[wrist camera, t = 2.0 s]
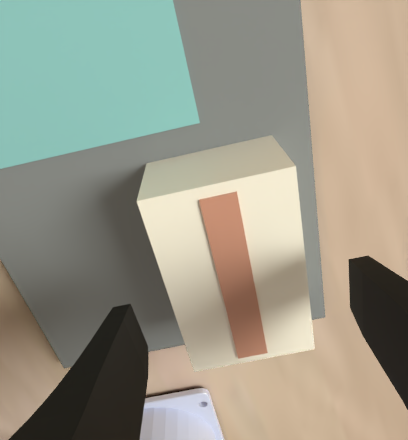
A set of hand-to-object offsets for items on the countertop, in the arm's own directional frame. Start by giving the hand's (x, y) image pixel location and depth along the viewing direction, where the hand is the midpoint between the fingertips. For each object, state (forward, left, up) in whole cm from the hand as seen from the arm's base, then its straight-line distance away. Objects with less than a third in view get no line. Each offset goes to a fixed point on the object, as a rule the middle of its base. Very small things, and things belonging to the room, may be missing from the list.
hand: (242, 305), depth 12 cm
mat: (+4, +3, -5) cm, 7 cm away
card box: (0, 0, -5) cm, 5 cm away
